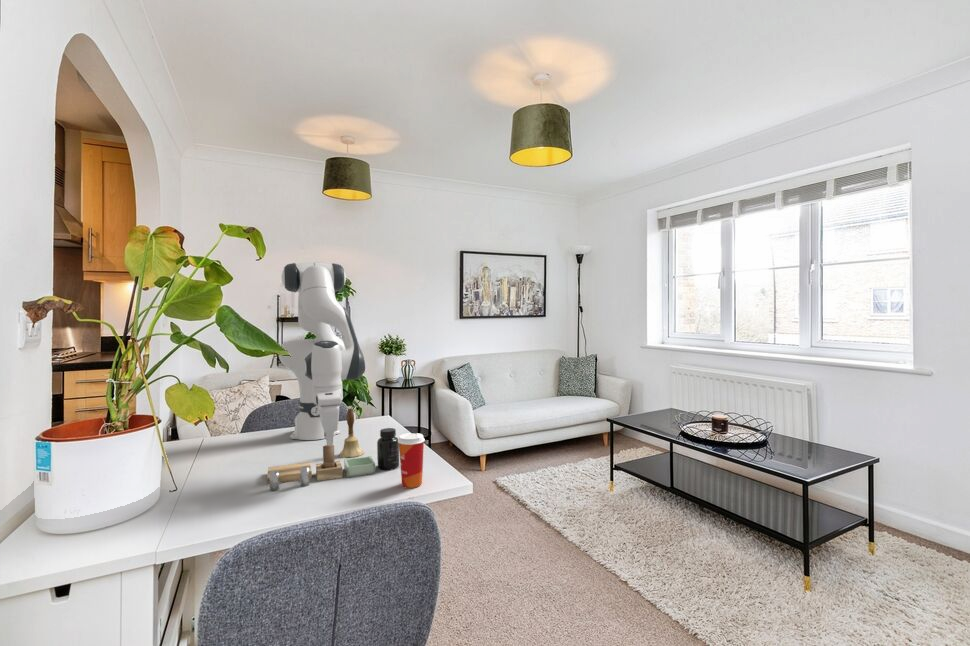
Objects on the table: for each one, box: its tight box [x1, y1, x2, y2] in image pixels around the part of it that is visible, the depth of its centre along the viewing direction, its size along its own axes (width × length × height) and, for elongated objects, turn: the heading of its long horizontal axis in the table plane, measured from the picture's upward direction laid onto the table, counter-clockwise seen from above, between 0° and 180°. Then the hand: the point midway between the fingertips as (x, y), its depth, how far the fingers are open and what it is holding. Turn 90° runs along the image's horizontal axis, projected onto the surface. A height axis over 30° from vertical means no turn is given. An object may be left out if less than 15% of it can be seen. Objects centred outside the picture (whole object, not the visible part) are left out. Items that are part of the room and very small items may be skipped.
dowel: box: [322, 444, 335, 469], centre depth 140 cm, size 3×3×9 cm
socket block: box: [315, 460, 343, 482], centre depth 140 cm, size 7×7×3 cm
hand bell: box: [338, 407, 365, 459], centre depth 161 cm, size 8×8×16 cm
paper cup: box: [398, 432, 426, 489], centre depth 132 cm, size 8×8×14 cm
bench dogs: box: [269, 466, 311, 492], centre depth 131 cm, size 2×10×5 cm, turn 113°
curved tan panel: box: [266, 461, 313, 486], centre depth 140 cm, size 10×12×2 cm
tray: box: [343, 455, 376, 478], centre depth 144 cm, size 8×8×3 cm
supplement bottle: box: [376, 427, 400, 471], centre depth 147 cm, size 7×7×12 cm
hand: (328, 440), depth 139 cm, fingers open, 8 cm apart
